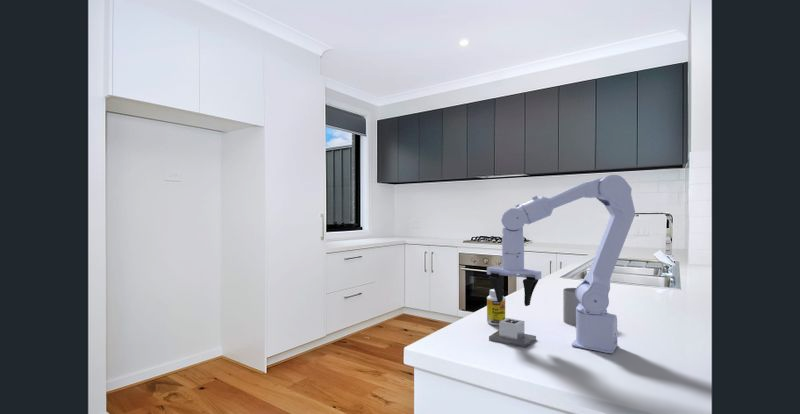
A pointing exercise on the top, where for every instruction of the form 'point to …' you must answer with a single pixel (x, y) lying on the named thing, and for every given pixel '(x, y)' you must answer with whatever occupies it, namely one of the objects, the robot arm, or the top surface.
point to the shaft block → (521, 342)
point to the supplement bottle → (495, 309)
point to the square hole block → (511, 329)
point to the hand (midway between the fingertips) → (513, 303)
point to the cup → (569, 306)
